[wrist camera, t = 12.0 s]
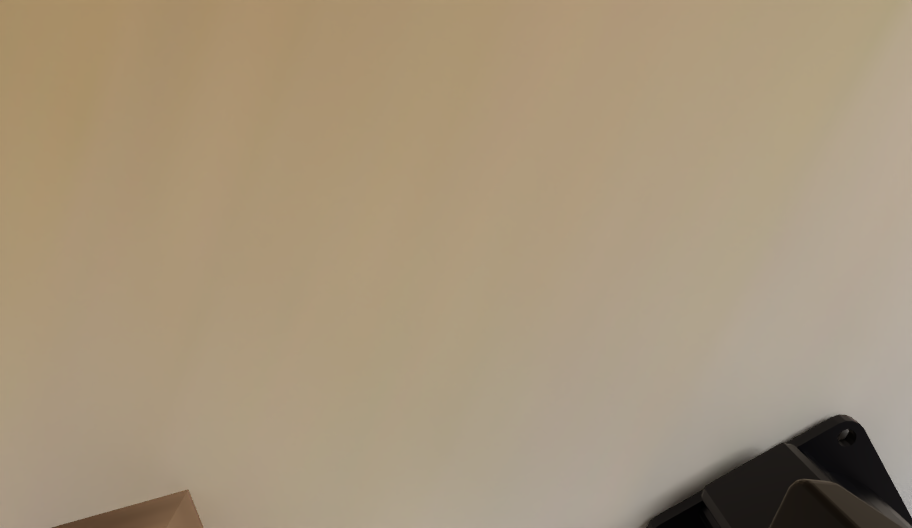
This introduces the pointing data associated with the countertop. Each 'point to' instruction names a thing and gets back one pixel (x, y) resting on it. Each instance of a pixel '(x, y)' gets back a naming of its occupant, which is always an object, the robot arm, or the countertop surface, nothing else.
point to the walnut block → (147, 515)
